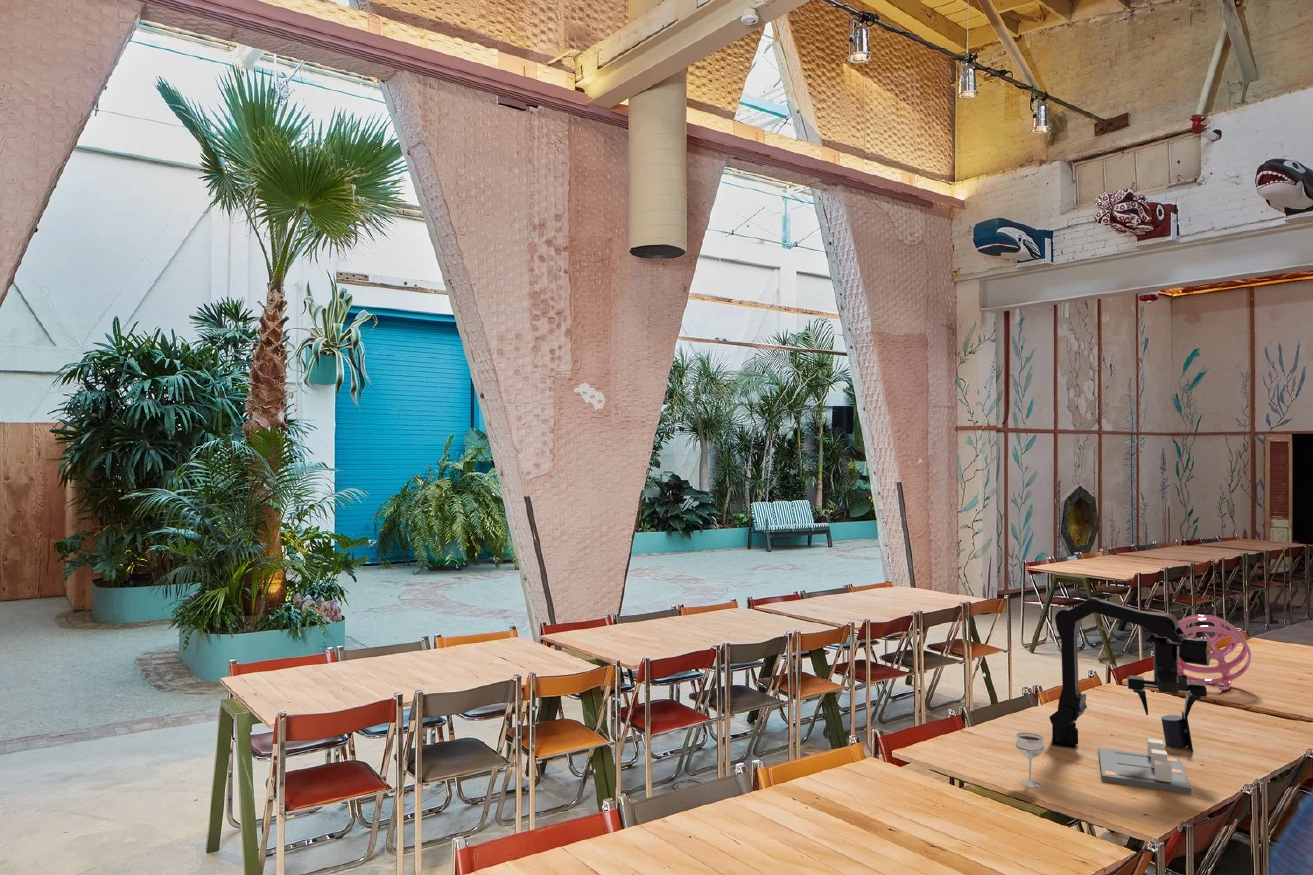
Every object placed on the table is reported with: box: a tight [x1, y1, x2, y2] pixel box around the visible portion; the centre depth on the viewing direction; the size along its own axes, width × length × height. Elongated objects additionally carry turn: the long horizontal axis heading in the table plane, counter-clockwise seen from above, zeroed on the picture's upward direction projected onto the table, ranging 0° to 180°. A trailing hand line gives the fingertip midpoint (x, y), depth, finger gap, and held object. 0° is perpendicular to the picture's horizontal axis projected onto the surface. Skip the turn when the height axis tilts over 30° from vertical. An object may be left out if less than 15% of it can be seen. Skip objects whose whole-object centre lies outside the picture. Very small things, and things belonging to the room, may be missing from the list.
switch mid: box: [1151, 749, 1168, 768], centre depth 236 cm, size 4×4×4 cm
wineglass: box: [1015, 732, 1045, 788], centre depth 228 cm, size 7×7×12 cm
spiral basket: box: [1165, 614, 1252, 692], centre depth 331 cm, size 28×28×27 cm
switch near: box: [1155, 760, 1172, 782], centre depth 227 cm, size 4×4×4 cm
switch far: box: [1147, 738, 1164, 757], centre depth 245 cm, size 4×4×4 cm
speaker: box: [1160, 710, 1194, 753], centre depth 259 cm, size 8×6×10 cm
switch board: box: [1098, 747, 1193, 795], centre depth 237 cm, size 20×25×2 cm
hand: (1166, 717), depth 244 cm, fingers open, 9 cm apart
